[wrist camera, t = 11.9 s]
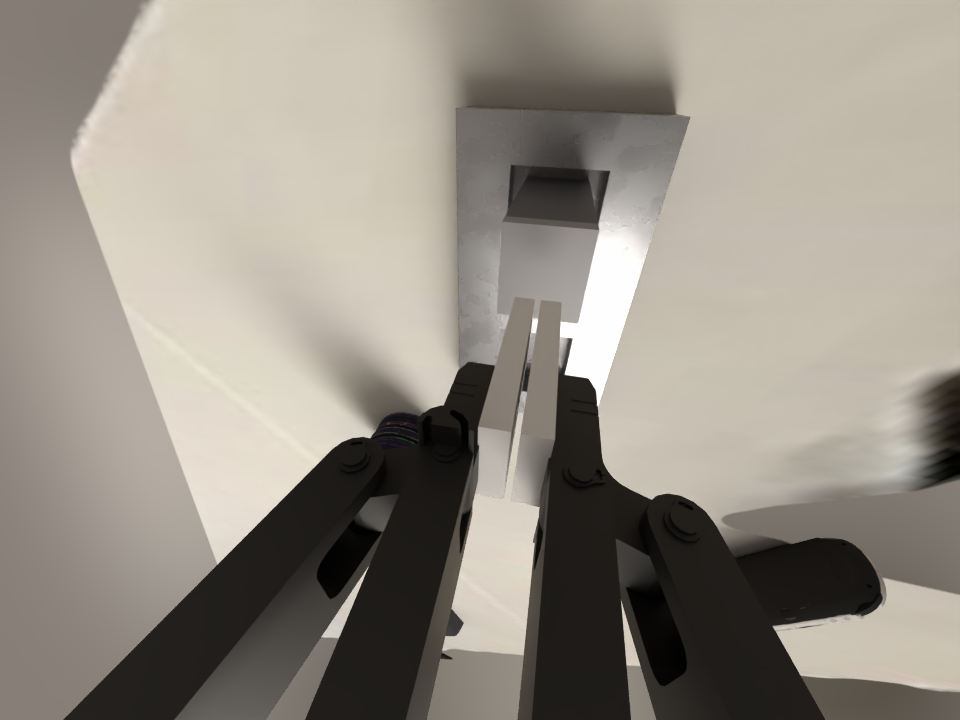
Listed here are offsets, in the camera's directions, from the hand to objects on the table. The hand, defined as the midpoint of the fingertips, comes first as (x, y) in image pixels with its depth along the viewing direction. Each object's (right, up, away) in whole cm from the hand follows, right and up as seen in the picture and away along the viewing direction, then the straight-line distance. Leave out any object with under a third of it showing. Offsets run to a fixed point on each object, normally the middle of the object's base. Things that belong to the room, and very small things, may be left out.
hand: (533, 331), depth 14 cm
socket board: (+4, +6, +18) cm, 20 cm away
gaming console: (+37, -27, +35) cm, 57 cm away
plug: (+4, +10, +14) cm, 17 cm away
